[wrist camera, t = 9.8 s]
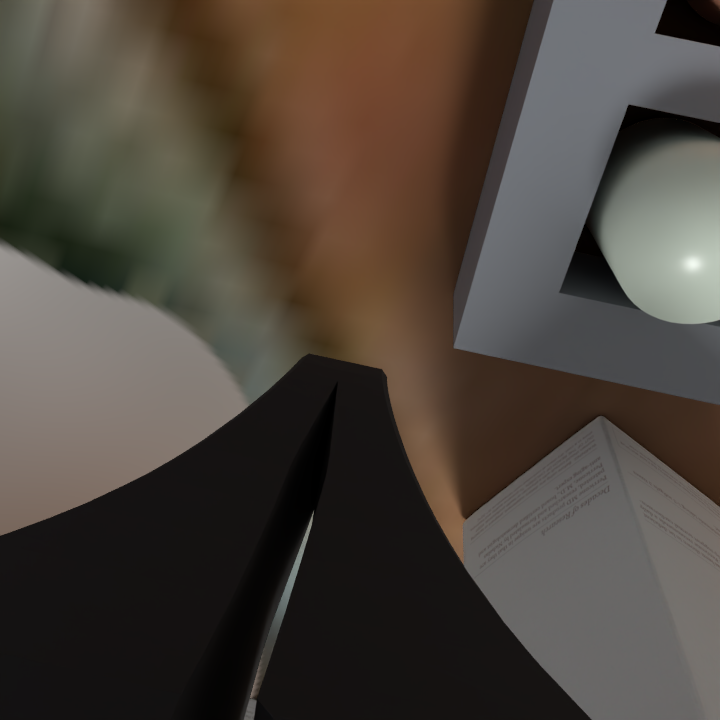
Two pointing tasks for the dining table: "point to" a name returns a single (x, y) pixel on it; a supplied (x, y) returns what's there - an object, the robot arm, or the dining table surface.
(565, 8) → the socket board
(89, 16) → the dining table surface
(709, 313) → the plug sage
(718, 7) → the plug rust
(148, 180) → the dining table surface
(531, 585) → the supplement box
